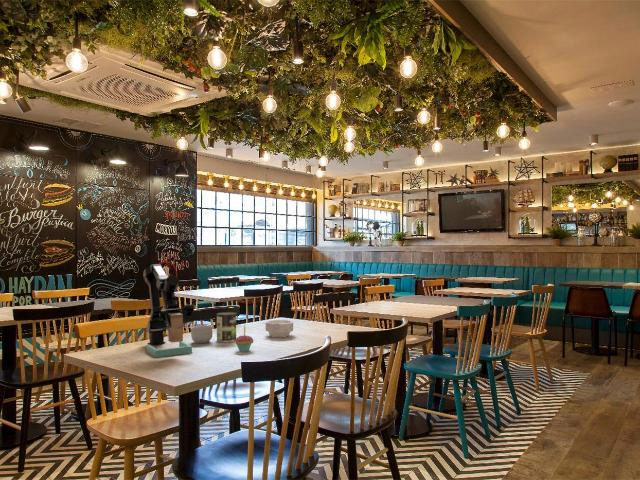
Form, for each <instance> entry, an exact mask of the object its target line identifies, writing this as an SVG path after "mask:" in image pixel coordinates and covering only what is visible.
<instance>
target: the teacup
mask: <svg viewBox="0 0 640 480" xmlns="http://www.w3.org/2000/svg"><path fill="white" fill-rule="evenodd" d="M190 335H191V341H192V342H194V343H195V344H205V343H209V342H210V341H211V340H212V339H213V325H211V324H210V325H209V324H207V325H204V324H203V325H196V326H192V327H190Z"/></svg>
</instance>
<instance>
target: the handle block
mask: <svg viewBox="0 0 640 480" xmlns="http://www.w3.org/2000/svg"><path fill="white" fill-rule="evenodd" d="M168 315H169V319H170V322H171V328H169V326H168V325H167V327H168V329H167V330H168V331H167V333H168V336H167V337H168V338H167V339H168V342H170V343H179V342H181V341H183V342H184V331H183V330H184V323H183V314H181V313H174V314H168Z"/></svg>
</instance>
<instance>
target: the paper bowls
mask: <svg viewBox="0 0 640 480" xmlns="http://www.w3.org/2000/svg"><path fill="white" fill-rule="evenodd" d="M265 331H266V332H268V334H269V336H270V337H272V338H287V337H289V336H290V333H291V332H293V331H294V322H293V320H288V319H287V320H286V319H271V320H266V321H265Z"/></svg>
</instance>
